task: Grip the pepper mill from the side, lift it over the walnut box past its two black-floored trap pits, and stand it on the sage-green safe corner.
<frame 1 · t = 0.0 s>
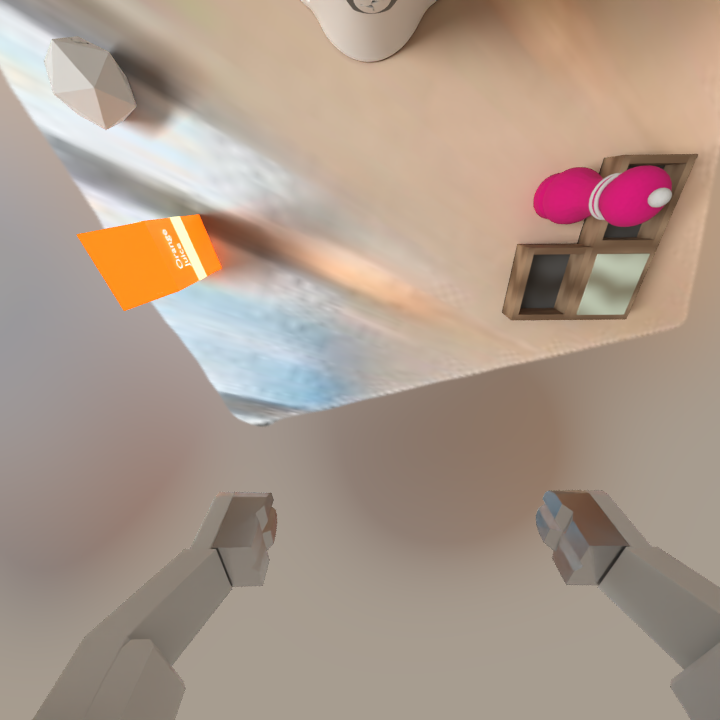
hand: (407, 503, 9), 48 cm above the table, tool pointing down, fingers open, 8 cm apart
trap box: (577, 243, 51), on the table
orange juice: (191, 247, 51), on the table
pepper mill: (552, 196, 48), on the table
die: (115, 94, 42), on the table
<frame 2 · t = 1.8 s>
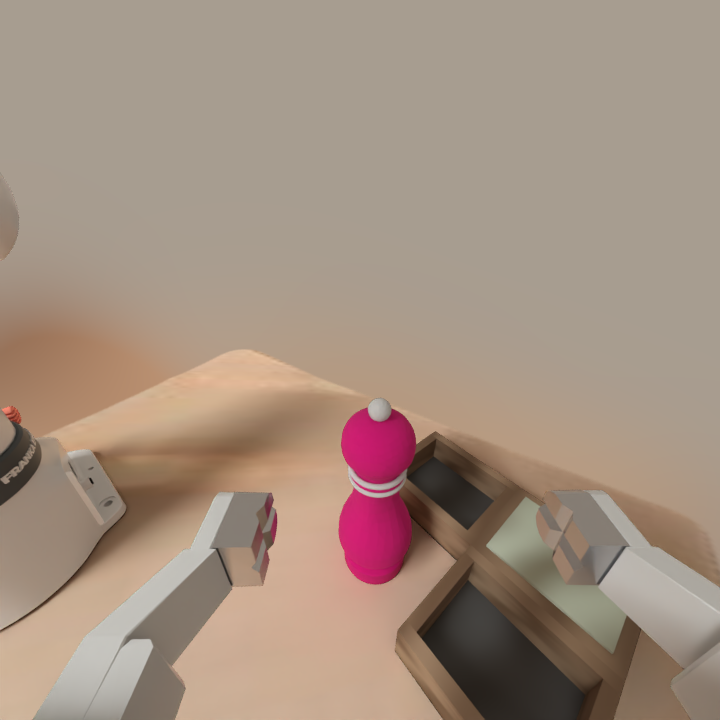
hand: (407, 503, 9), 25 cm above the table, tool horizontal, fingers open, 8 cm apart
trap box: (463, 567, 31), on the table
pepper mill: (374, 552, 32), on the table
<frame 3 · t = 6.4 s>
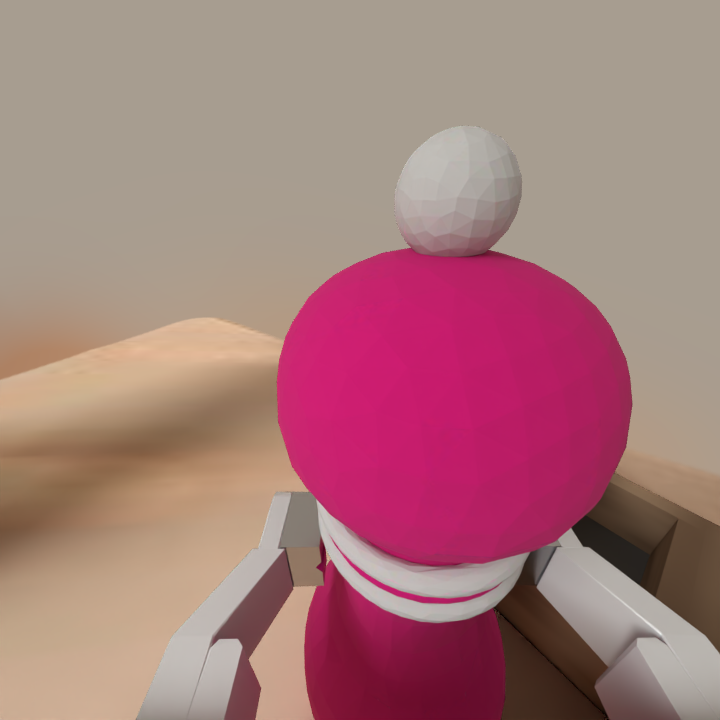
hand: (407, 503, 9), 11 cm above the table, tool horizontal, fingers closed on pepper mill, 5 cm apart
pepper mill: (394, 682, 14), on the table, touching gripper
when the fingers open (17 cm above the table, at t = 10.9 s): pepper mill drops 1 cm, resting on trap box.
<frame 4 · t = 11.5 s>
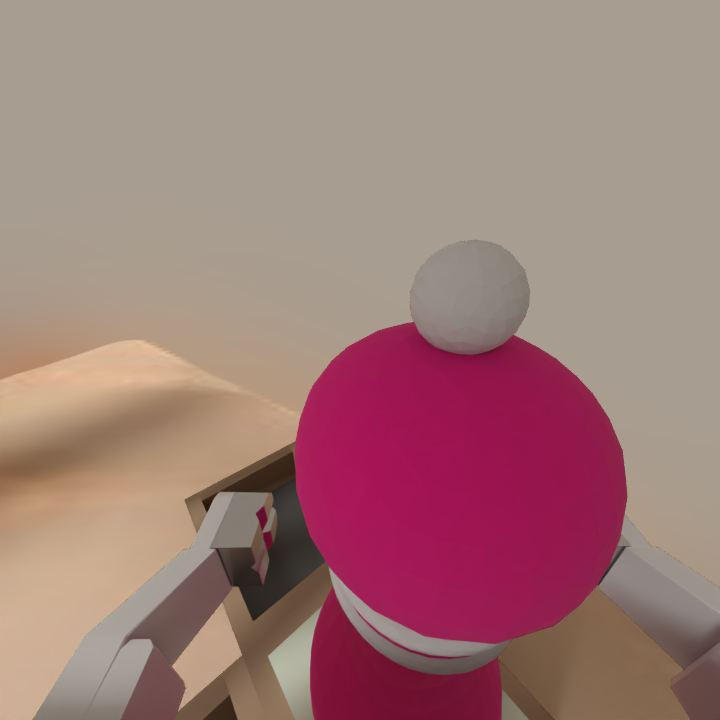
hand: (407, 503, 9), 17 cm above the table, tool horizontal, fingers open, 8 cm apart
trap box: (255, 683, 18), on the table
pepper mill: (394, 697, 14), point 4 cm above the table, touching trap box
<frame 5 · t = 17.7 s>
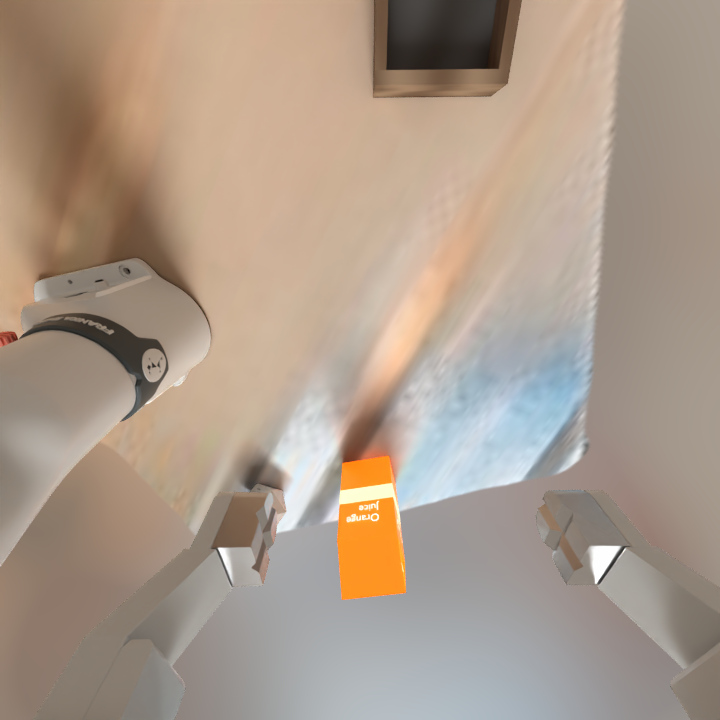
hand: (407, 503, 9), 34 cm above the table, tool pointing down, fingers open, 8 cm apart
orange juice: (369, 472, 57), on the table
die: (268, 490, 60), on the table
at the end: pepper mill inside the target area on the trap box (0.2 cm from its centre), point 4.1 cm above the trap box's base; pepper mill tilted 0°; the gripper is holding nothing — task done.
